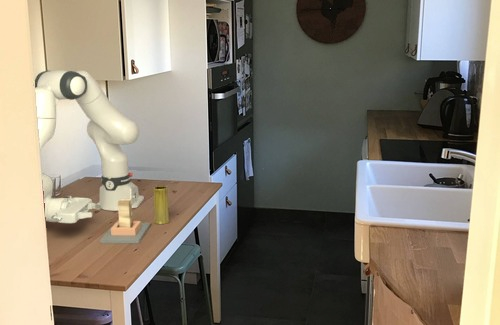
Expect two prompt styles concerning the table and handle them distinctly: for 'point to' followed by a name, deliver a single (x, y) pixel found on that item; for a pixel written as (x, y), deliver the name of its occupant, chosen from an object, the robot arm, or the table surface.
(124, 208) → the oak post
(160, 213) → the vase
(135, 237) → the socket board
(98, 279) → the table surface
